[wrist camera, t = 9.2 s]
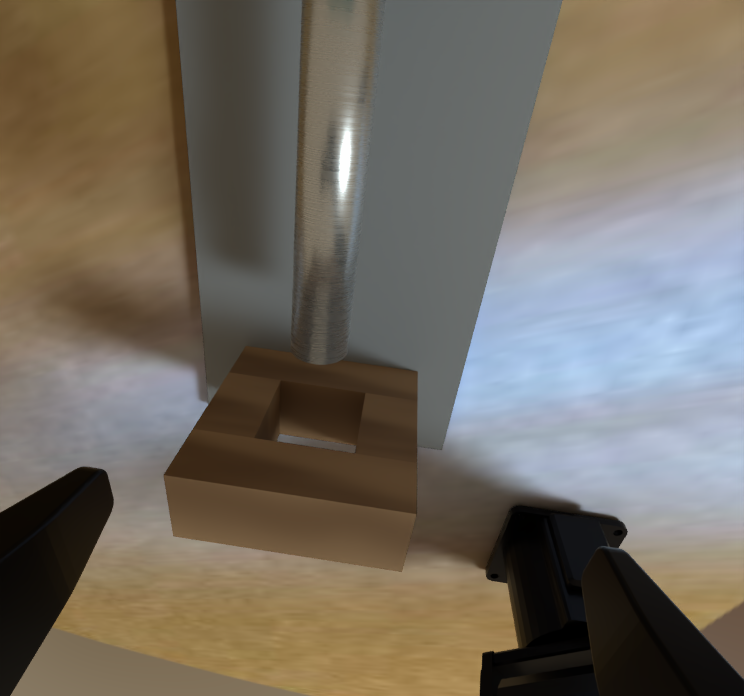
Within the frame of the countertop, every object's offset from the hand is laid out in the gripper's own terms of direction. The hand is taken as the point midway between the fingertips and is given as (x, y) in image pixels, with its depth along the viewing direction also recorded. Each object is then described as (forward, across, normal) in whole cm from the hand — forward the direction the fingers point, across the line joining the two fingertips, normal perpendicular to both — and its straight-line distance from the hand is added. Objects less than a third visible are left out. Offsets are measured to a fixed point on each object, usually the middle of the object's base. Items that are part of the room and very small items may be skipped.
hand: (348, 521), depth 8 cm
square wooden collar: (+13, +2, +6) cm, 14 cm away
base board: (+13, +2, -3) cm, 13 cm away
